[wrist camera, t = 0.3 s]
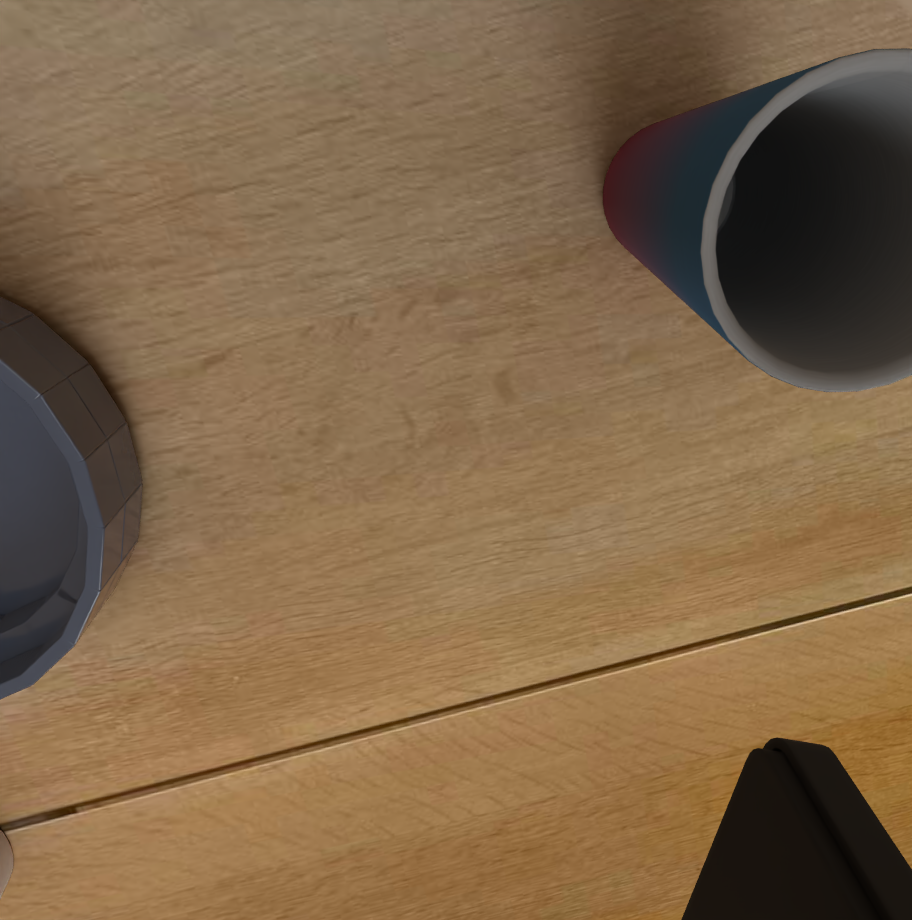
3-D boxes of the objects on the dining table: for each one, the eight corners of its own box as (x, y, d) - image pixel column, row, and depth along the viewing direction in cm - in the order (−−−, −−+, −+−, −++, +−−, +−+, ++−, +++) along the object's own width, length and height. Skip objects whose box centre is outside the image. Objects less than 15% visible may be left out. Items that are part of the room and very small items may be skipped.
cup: (742, 292, 33) (979, 403, 19) (567, 279, 32) (675, 382, 18) (779, 100, 30) (1081, 64, 16) (591, 84, 30) (735, 32, 16)
